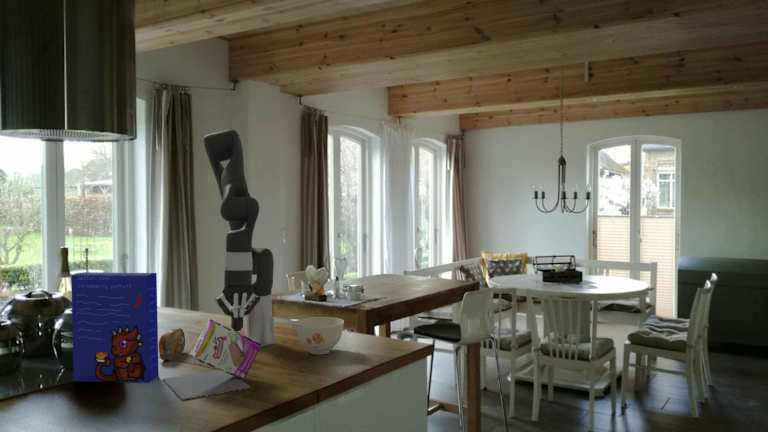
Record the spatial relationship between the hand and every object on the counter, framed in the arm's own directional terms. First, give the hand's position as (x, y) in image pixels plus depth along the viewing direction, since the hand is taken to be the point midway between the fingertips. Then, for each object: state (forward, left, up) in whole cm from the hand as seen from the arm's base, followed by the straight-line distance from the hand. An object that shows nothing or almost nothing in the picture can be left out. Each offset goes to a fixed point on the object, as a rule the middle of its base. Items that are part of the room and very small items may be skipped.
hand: (236, 330), depth 172 cm
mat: (+9, -2, -14) cm, 16 cm away
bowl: (-33, -15, -14) cm, 39 cm away
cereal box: (+28, -21, -14) cm, 38 cm away
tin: (+9, -36, -14) cm, 39 cm away
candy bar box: (-4, -1, -9) cm, 10 cm away
